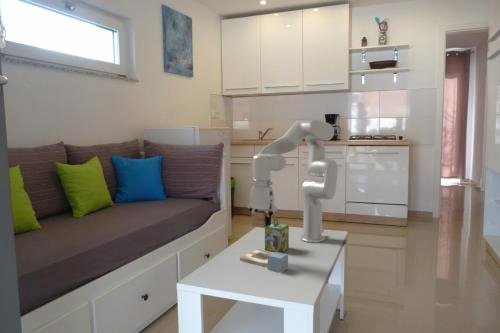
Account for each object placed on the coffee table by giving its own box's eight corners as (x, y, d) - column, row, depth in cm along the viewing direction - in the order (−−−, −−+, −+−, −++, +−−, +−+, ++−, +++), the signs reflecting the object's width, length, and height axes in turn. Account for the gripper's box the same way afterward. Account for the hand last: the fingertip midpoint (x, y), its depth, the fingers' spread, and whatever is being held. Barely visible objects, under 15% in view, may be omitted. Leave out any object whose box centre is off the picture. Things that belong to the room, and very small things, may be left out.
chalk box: (281, 253, 171) (281, 222, 170) (264, 250, 176) (264, 219, 174) (289, 247, 179) (289, 217, 178) (272, 245, 184) (272, 215, 182)
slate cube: (275, 265, 156) (275, 251, 155) (288, 268, 152) (288, 254, 152) (267, 269, 151) (267, 255, 150) (280, 273, 147) (280, 258, 147)
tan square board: (257, 252, 173) (257, 248, 173) (283, 257, 165) (283, 254, 165) (239, 260, 162) (239, 257, 162) (266, 267, 154) (266, 263, 153)
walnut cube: (259, 223, 166) (259, 210, 165) (271, 225, 162) (271, 211, 162) (252, 225, 161) (251, 212, 161) (263, 227, 158) (263, 214, 157)
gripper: (283, 184, 158) (282, 225, 160) (250, 181, 168) (250, 220, 170) (273, 186, 152) (273, 229, 154) (240, 183, 162) (240, 223, 164)
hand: (261, 223), depth 162 cm, fingers closed on walnut cube, 6 cm apart
